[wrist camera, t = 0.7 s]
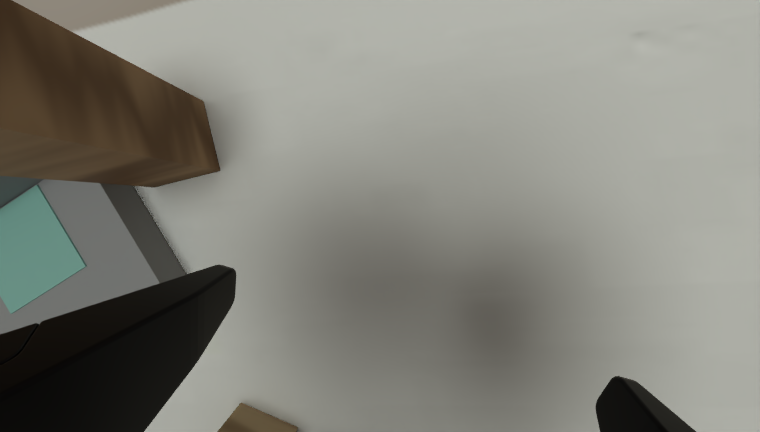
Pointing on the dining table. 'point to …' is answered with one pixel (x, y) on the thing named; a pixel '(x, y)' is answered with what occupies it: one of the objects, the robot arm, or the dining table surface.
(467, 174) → the dining table surface
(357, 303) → the dining table surface
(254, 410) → the oak block
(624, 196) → the dining table surface
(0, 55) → the walnut pillar
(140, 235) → the base slab
